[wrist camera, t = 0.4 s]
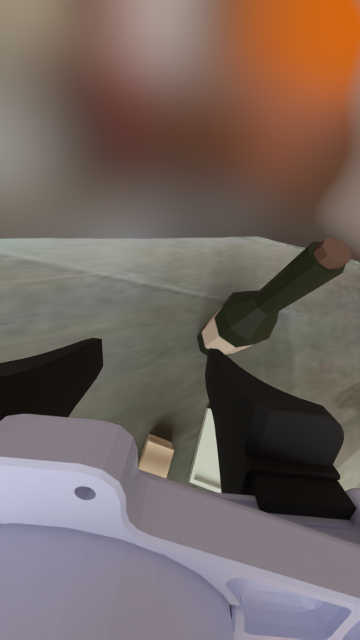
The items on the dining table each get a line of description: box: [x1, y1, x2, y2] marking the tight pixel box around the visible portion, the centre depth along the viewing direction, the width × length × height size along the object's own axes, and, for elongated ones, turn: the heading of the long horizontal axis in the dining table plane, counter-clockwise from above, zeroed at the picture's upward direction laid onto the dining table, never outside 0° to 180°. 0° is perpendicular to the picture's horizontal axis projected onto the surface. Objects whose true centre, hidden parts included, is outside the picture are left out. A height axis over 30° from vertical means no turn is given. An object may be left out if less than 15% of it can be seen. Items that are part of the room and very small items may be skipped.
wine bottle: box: [197, 238, 351, 356], centre depth 28 cm, size 8×8×30 cm
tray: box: [188, 408, 221, 493], centre depth 33 cm, size 12×12×2 cm
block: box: [138, 434, 174, 478], centre depth 30 cm, size 4×4×5 cm
